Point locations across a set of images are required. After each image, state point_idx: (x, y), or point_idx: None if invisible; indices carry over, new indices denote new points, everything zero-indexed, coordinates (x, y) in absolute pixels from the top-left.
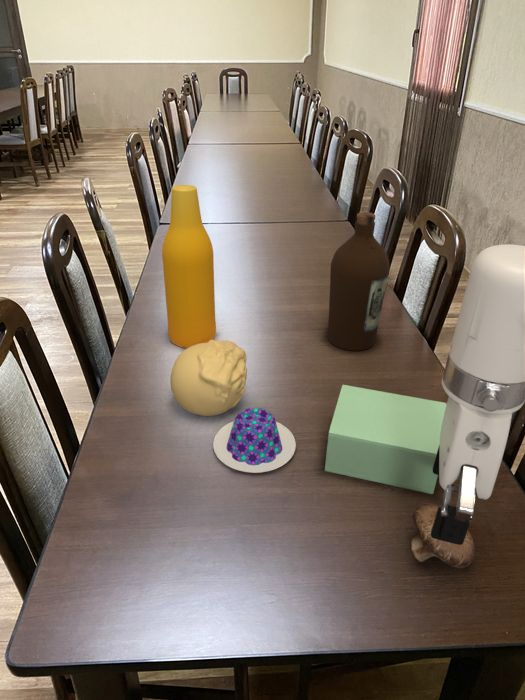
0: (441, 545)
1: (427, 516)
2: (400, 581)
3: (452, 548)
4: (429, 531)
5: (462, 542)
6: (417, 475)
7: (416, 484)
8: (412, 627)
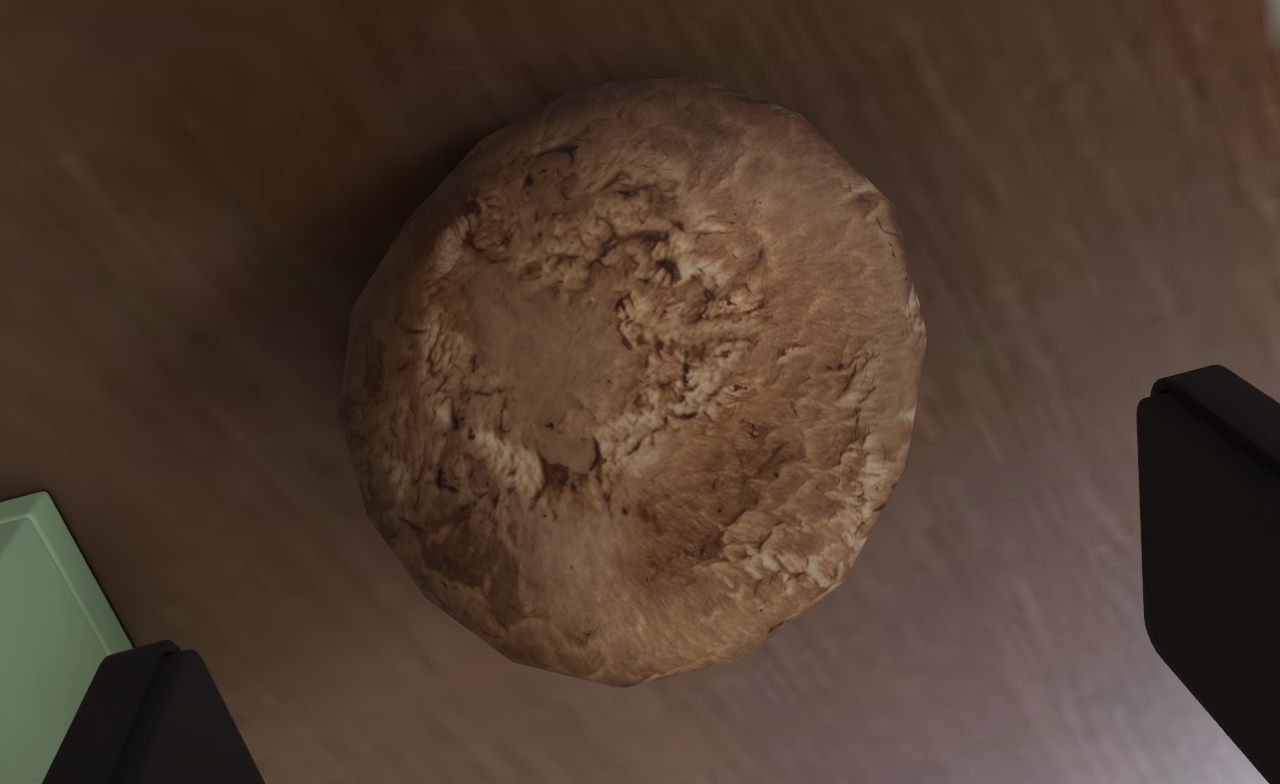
0: (904, 407)
1: (723, 625)
2: (954, 428)
3: (888, 318)
4: (849, 547)
5: (1227, 378)
6: (62, 724)
7: (91, 648)
8: (1239, 271)
